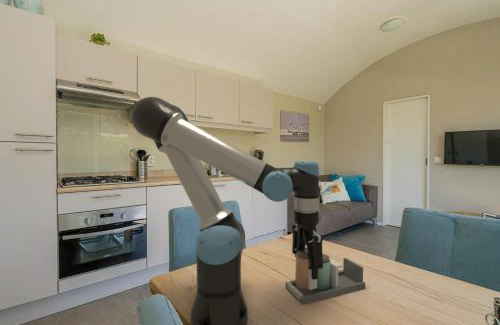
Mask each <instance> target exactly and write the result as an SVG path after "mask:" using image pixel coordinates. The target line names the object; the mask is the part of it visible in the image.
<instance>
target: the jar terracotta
mask: <svg viewBox="0 0 500 325" xmlns="http://www.w3.org/2000/svg"><path fill="white" fill-rule="evenodd" d="M308 267H310V263H309V257H308V251H307V250H299V251H297V254H296V257H295V272H294V273H295V279H294V280H295V284H296V285H297V286H298V287H300V288H303V289H308Z"/></svg>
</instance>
